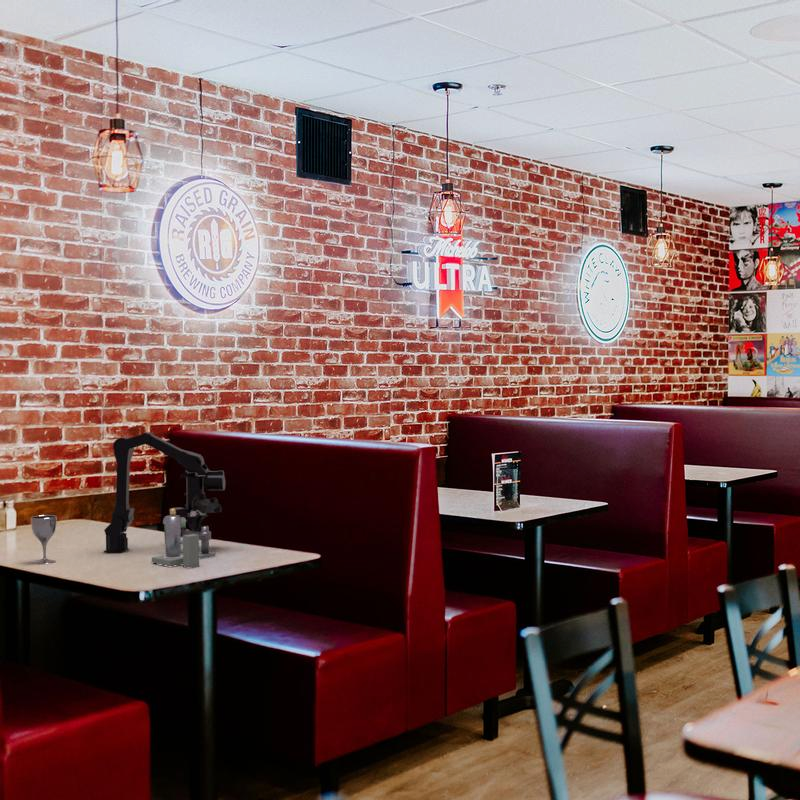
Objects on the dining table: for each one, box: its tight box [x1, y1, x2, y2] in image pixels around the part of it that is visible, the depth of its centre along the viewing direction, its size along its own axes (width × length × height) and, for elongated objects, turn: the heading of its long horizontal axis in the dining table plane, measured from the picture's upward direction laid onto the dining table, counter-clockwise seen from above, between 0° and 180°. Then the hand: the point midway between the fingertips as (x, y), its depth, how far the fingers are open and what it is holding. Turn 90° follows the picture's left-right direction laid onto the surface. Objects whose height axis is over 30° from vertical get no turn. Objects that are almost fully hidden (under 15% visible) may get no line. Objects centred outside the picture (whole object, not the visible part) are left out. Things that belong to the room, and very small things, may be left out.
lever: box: [181, 525, 212, 553], centre depth 340 cm, size 17×4×9 cm, turn 48°
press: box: [151, 534, 217, 568], centre depth 326 cm, size 16×22×10 cm
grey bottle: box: [164, 508, 182, 558], centre depth 324 cm, size 5×5×15 cm
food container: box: [162, 517, 187, 545], centre depth 364 cm, size 12×6×10 cm, turn 168°
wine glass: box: [30, 514, 58, 565], centre depth 328 cm, size 8×8×15 cm
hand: (195, 535), depth 347 cm, fingers closed
